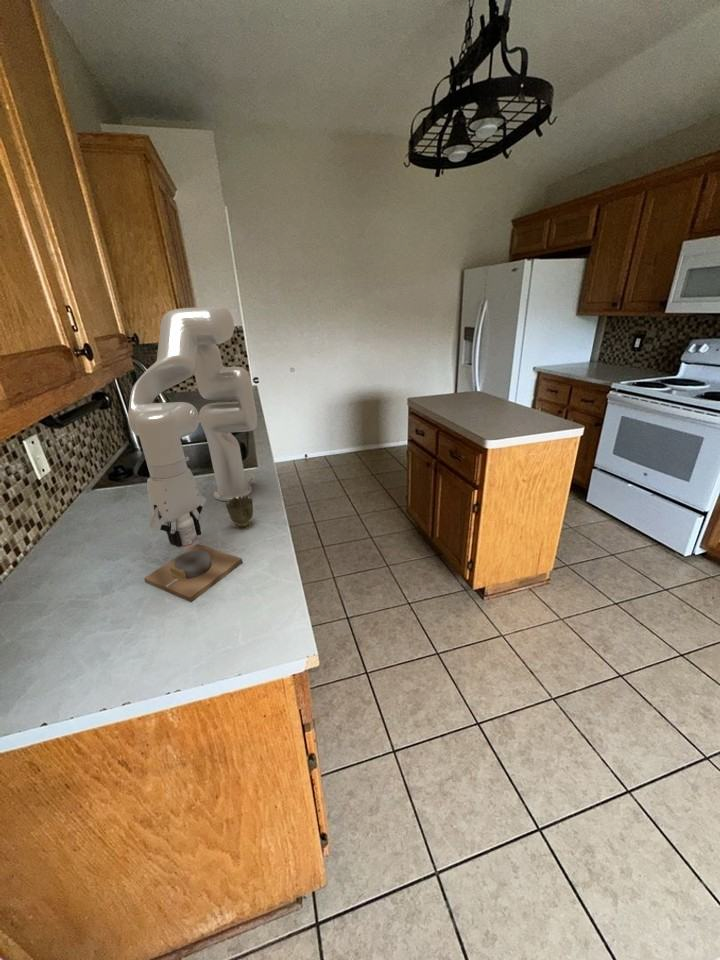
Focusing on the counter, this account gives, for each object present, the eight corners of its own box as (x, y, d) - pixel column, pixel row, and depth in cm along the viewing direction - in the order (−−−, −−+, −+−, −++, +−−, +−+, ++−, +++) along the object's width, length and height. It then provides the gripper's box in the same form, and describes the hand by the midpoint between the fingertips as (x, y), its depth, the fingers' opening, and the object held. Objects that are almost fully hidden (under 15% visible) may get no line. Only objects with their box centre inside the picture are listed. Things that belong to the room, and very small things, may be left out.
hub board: (198, 547, 107) (195, 535, 105) (242, 562, 100) (240, 550, 98) (145, 582, 94) (141, 569, 92) (191, 602, 87) (187, 588, 85)
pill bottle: (174, 542, 94) (166, 511, 90) (195, 535, 96) (187, 504, 93) (179, 551, 90) (170, 518, 87) (200, 543, 93) (193, 512, 89)
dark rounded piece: (249, 533, 112) (244, 508, 109) (225, 531, 114) (220, 506, 111) (260, 520, 119) (256, 496, 116) (238, 518, 121) (233, 495, 117)
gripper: (188, 453, 94) (204, 519, 101) (120, 480, 80) (143, 554, 88) (210, 457, 90) (225, 526, 98) (143, 486, 77) (165, 563, 84)
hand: (186, 538), depth 93 cm, fingers closed on pill bottle, 4 cm apart
